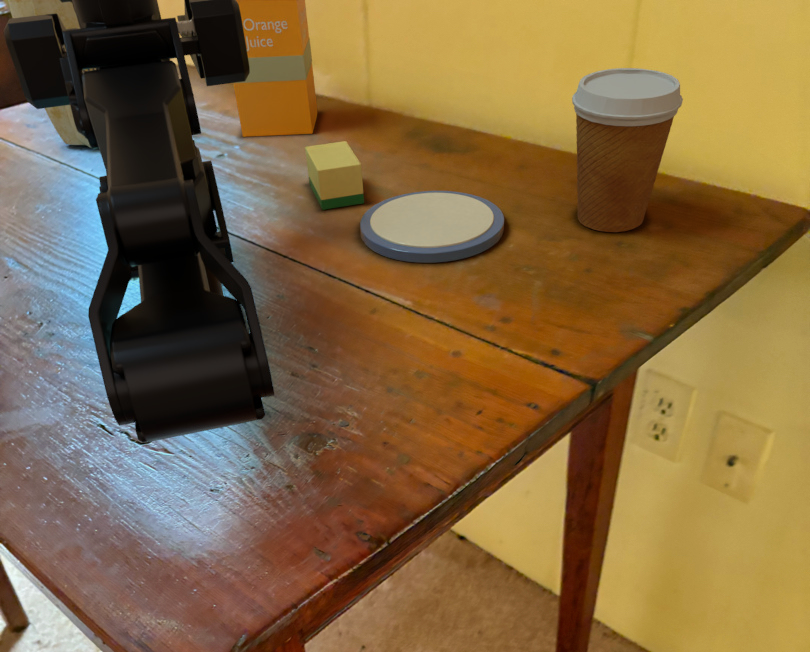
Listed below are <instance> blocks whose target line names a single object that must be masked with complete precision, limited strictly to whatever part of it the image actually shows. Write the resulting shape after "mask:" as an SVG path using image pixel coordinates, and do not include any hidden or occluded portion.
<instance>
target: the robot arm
mask: <svg viewBox="0 0 810 652" xmlns="http://www.w3.org/2000/svg"><path fill="white" fill-rule="evenodd" d="M60 1H61V2H71V3H72V4H73V8H74V11H75V13H76V16H77V19H78V23H79V26H80V28H81V29H78V28H71V29H66V28H65V27H64V25H63V23H62V21H61V20H60V18H59V16H58V14H57V13H55V14H47V15H37V16H29V17H20V18H12V17H11V18H9V19H8V21H7V23H6V25H5V27H4V29H3V36H4V41H5V44H6V46H7V49H8V53H9V55H10V58H11V61H12V64H13V66H14V70H15V73H16V75H17V78H18V81H19V83H20V86H21V90H22V92H23V95H24V97H25V99H26V101H27V103H29V104H30V105H31V106H32V107H34V108H35V109H36V110H42V109H45V108H50V107H57V106H65V105H70V106H71V110H72V115H73V119H74V123H75V126H76V129H77V131H78V132H79V133H80V134H81V135H83V136H84V137H85V138H86V139H88V142H89V145H90V147H91V148H90V147H89V148H90V149H91V150H97V149H99V153H100V156H101V160H102V162H103V166H104V169H105V174H106V175H101V176H99V177H98V179H99V185H100V186H99V189H98V190H99V193H97V195H96V198H95V202H96V206H97V210H98V214H99V218H100V222H101V226H102V231H103V234H104V235H103V236H104V239H105V243H106V247H107V252H106V256H105V259H104V262H103V264H102V268H101V271H100V273H99V277H98V279H97V283H96V285H95V288H94V291H93V294H92V297H91V300H90V304H89V306H88V313H87V315H88V322H89V326H90V328H91V333H92V338H93V343H94V347H95V351H96V356H97V360H98V364H99V368H100V372H101V373H100V374H101V377H102V381H103V386H104V390H105V393H106V397H107V401H108V403H109V406H110V410H111V412H112V415H113V417H114V419H115V421H116V424H117V425H118V426H120V427H121V426H125V425H129V424H134V428H135V429H134V430H135V434H136V438H137V440H138V441H139V442H141V443H142V444H144V443H149V442H156V441H160V440H165V439H170V438H175V437H180V436H185V435H190V434H191V435H192V434H195V433H201V432H204V431H211V430H216V429H221V428H225V427H231V426H236V425H241V424H246V423H251V422H255V421H259V420H263V419H264V417H265V416H266V411H265V407H264V402H263V399H264V398H269V397H273V396H275V389H274V388H275V387H274V384H273V378H272V373H271V369H270V364H269V359H268V355H267V351H266V346H265V342H264V337H263V332H262V329H261V325H260V320H259V319H260V318H259V315H258V310H257V306H256V301H255V297H254V292H253V289H252V286H251V285H250V283H249V281H248V280H247V278H246V277H245V276H244V275H243V274H242V273H241V272H240V270H238V268H237V267H236V266H235V265H234V263H235V261H234V256H233V255H234V253H233V250H232V245H231V240H230V235H229V231H228V226H227V223H226V217H225V214H224V210H223V205H222V200H221V197H220V196H221V195H220V192H219V188H218V182H217V179H216V175H215V170H214V167H213V162H212V160H204V161H203V159H202V155H201V151H200V148H199V147H197V146H196V142H195V139H193V136H197V135H198V136H199V135H202V130H201V128H202V127H201V124H200V119H199V114H198V110H197V104H196V100H195V96H194V91H193V87H192V83H191V79H190V75H189V70H188V66H187V61H186V57H185V56H190V58H191V60H192V63H193V65H194V68H195V69H196V71H197V73H198V76H199V77H200V79H204V81H205V85H206V87H214V86H220V85H221V86H222V85H227V84H233V83H236V82H243V81H245V80H246V79H247V77H248V75H249V73H250V67H249V61H248V55H247V49H246V43H245V37H244V31H243V25H242V19H241V13H240V9H239V4H238V3H237V1H236V0H183V1H184V3H183V4H184V14H179V15H177V16H176V17H168V18H162V15H161V10H160V7H159V2H158V0H60ZM176 18H177V19H176ZM171 59H176V62H177V64H176V63H175V62H174V61H173V60H171ZM177 66H178V68H177ZM94 68H96V70H95V69H94ZM85 69H88V71H85ZM90 69H92V71H91V70H90ZM82 70H83V73H82ZM178 71H179V73H178ZM179 75H180V77H179ZM135 278H138V282H139V293H140V302H139V303H138V304H136V305H135V306H133V307H132V308H130V309H129V310H127V311H126V312H124V313H123V314H122V315H120V316H119V314H120V310H121V307H122V304H123V301H124V298H125V295H126V292H127V289H128V286H129V283H130V280H132V279H135ZM223 287H224V288H225V289H226V291H227V292H228V293H229V294H230V295H231V296H232V297H233V298H232V297H230V296H226V295H225V294H224V290H223ZM242 308H243V310H244V313H243V310H242ZM244 314H245V315H244ZM245 317H246V319H245ZM246 322H247V323H246ZM247 326H248V327H247Z"/></svg>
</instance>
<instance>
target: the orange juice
mask: <svg viewBox="0 0 810 652" xmlns="http://www.w3.org/2000/svg"><path fill="white" fill-rule="evenodd" d="M236 1H237V3H238V4H239V9H240V13H241V19H242V25H243V31H244V37H245V43H246V49H247V55H248V61H249V67H250V73H249V75H248V77H247V79H246V80H245V81H243V82H236V83H232V84H233V90H234V96H235V101H236V107H237V111H238V117H239V124H240V129H241V134H242V135H241V136H242V138H243V137H268V136H287V135H310V134H311V135H312V134H313V133H314V129H315V126H316V122H317V118H318V114H319V113H318V104H317V95H316V86H315V77H314V68H313V56H312V47H311V39H310V33H309V25H308V15H307V7H306V5H307V4H306V0H236Z"/></svg>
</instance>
